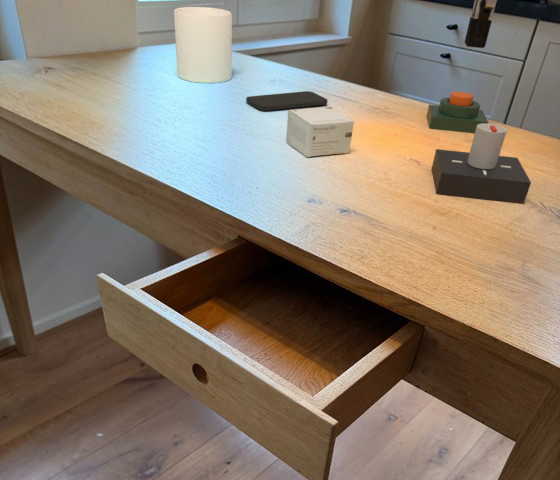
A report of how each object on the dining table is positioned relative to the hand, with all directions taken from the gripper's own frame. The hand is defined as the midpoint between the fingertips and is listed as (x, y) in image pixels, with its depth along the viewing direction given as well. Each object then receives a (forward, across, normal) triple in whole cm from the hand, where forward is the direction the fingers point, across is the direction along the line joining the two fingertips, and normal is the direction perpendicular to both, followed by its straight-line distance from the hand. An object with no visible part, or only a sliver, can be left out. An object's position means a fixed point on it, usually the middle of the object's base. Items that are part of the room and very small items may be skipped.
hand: (474, 45), depth 96 cm
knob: (+10, +30, 0) cm, 32 cm away
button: (+10, 0, 0) cm, 10 cm away
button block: (+13, 0, 0) cm, 13 cm away
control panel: (+13, +30, 0) cm, 33 cm away
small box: (+13, +21, -24) cm, 35 cm away
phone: (+13, -3, -32) cm, 35 cm away
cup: (+13, -18, -52) cm, 57 cm away
